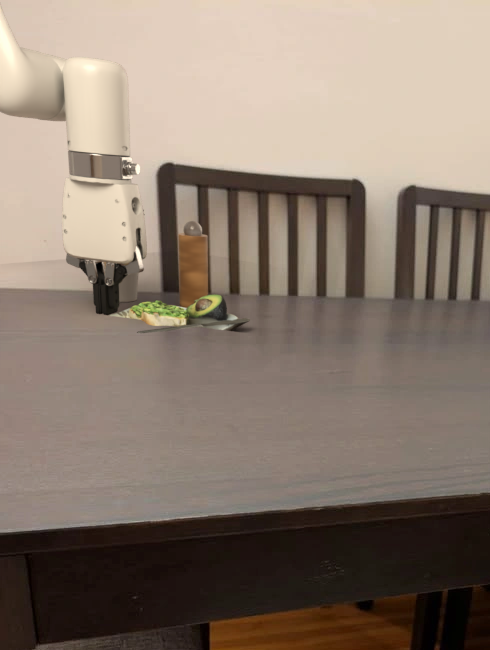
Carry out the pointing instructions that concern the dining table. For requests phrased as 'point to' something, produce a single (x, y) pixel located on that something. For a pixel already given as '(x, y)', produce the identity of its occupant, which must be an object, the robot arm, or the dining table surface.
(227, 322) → the avocado toast
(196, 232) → the pepper grinder
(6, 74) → the robot arm
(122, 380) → the dining table surface
